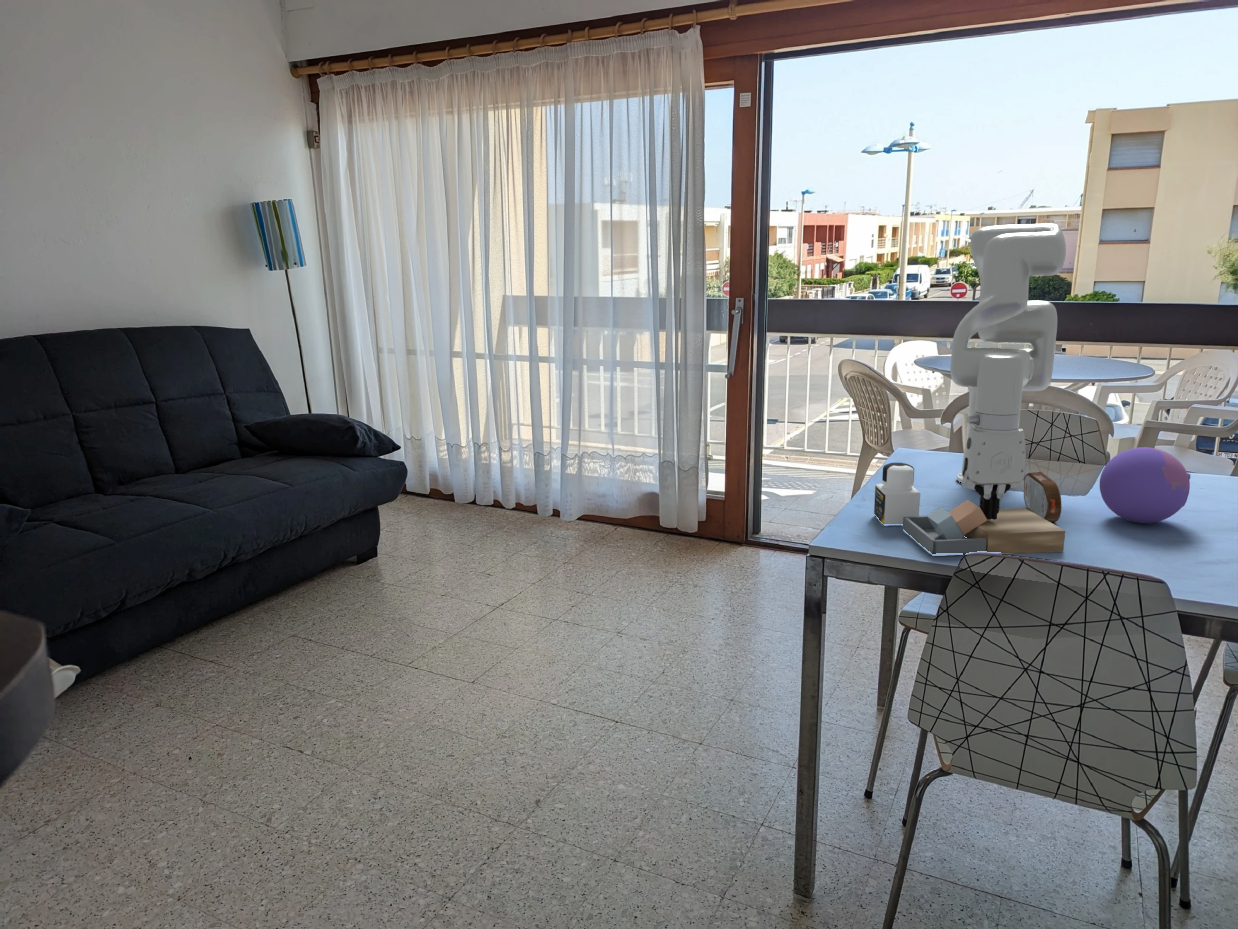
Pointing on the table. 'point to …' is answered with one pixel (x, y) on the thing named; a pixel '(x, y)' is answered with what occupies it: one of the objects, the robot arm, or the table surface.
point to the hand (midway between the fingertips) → (988, 517)
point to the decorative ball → (1144, 485)
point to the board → (1019, 533)
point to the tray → (939, 538)
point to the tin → (1042, 496)
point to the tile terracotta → (968, 516)
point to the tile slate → (945, 524)
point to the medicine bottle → (896, 494)
